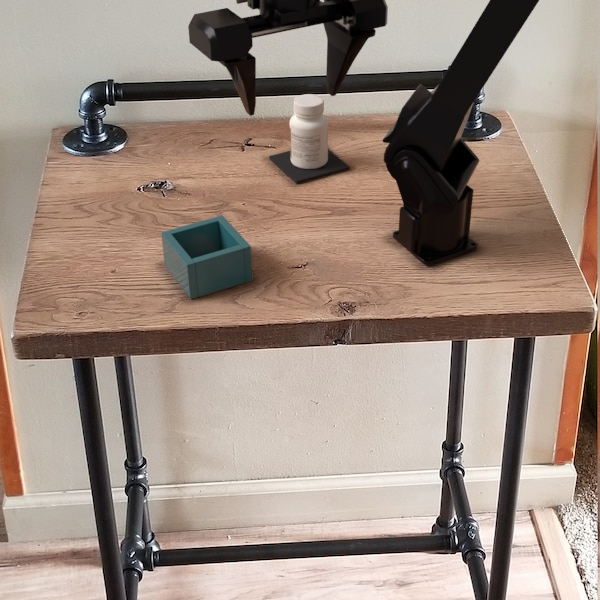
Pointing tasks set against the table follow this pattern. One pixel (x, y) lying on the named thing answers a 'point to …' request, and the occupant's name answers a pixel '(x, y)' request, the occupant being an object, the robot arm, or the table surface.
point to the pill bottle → (308, 132)
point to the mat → (305, 175)
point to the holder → (207, 256)
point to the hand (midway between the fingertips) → (291, 104)
